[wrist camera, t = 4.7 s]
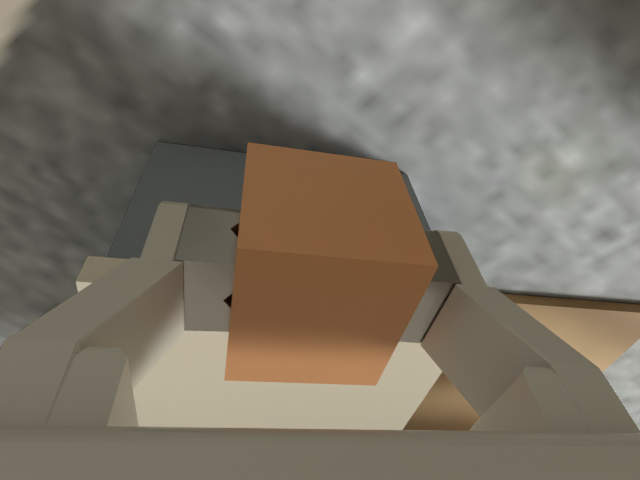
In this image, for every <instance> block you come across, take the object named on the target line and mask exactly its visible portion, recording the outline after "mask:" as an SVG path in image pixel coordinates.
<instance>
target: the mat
mask: <svg viewBox="0 0 640 480" xmlns="http://www.w3.org/2000/svg"><path fill="white" fill-rule="evenodd" d="M503 295H505V296H506V297H507V298H509V299H510V300H511V301H513V302H514V303H515V304H517V305H518V306H519V307H520V308H522V309H523V310H524V311H526V312H527V313H528V314H530V315H531V316H532V317H533V318H535V319H536V320H537V321H539V322H540V323H541V324H543V325H544V326H545V327H546V328H548V329H549V330H550V331H552V332H553V333H554V334H556V335H557V336H558V337H559V338H561V339H562V340H563V341H565V342H566V343H567V344H569V345H570V346H571V347H572V348H574V349H575V350H576V351H578V352H579V353H580V354H582V355H583V356H584V357H585V358H587V359H588V360H589V361H591V362H592V363H593V364H595V365H596V366H597V367H598V368H600V370H601V371H602V372H603V371H604V370H605V369H606V368H607V367H608V366H609V365H611V364H612V363H613V362H614V361H615V360H616V359H617V358H618V357H620V356H621V355H622V354H623V353H624V352H625V351H626V350H627V349H628V348H630V347H631V346H632V345H633V344H634V343H635V342H636V341H637V340H639V339H640V304H628V303H615V302H602V301H590V300H577V299H564V298H552V297H539V296H527V295H514V294H503ZM479 418H480V416H479V415H478V414H477V413H476V411H475V410H474V409H473V408H472V407H471V405H470V404H469V403H468V402H467V401H466V399H465V398H464V397H463V396H462V395H461V393H460V392H459V391H458V390H457V389H456V387H455V386H454V385H453V384H452V383H451V381H450V380H449V379H448V378H447V377H446V375H445V374H444V373H443V372H442V373H441V374H440V376H439V377H438V379H437V380H436V382H435V383H434V385H433V386H432V388H431V389H430V390H429V392H428V393H427V395H426V396H425V398H424V399H423V401H422V402H421V404H420V405H419V406H418V408H417V409H416V411H415V412H414V414H413V415H412V417H411V418H410V420H409V421H408V422H407V424H406V425H405V427H404V428H403V430H442V431H469V430H470V428H471V427H472V426H473V425H474V424H475V423H476V422H477V420H478V419H479Z"/></svg>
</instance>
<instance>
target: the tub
mask: <svg viewBox="0 0 640 480" xmlns="http://www.w3.org/2000/svg"><path fill="white" fill-rule="evenodd" d="M245 163H246V153H241V152H233V151H226V150H218V149H210V148H203V147H195V146H188V145H180V144H172V143H165V142H156V144H155V146H154V149H153V151H152V153H151V156H150V158H149V160H148V163H147V165H146V167H145V170H144V172H143V174H142V177H141V179H140V181H139V184H138V186H137V188H136V191H135V193H134V195H133V197H132V200H131V202H130V204H129V207H128V209H127V211H126V214H125V216H124V218H123V221H122V223H121V225H120V228H119V230H118V232H117V235H116V237H115V239H114V242H113V244H112V246H111V249H110V251H109V253H108V255H107V257H109V258H121V259H130V258H140V256H141V254H142V251H143V248H144V245H145V242H146V239H147V236H148V234H149V231H150V228H151V225H152V222H153V219H154V217H155V214H156V211H157V208H158V205H159V204H160V203H161V202H162V201H171V202H179V203H188V204H189V205H190V204H197V205H205V206H213V207H220V208H228V209H236V210H241V203H242V193H243V183H244V173H245ZM401 175H402V178H403V180H404V183H405V185H406V188H407V190H408V193H409V195H410V197H411V200H412V202H413V205H414V207H415V210H416V212H417V215H418V217H419V220H420V222H421V224H422V227H423V229H424V230H430V228H429V225H428V223H427V220H426V218H425V216H424V213H423V211H422V209H421V206H420V204H419V202H418V199H417V197H416V195H415V192H414V190H413V188H412V185H411V183H410V181H409V178H408V176H407V174H401ZM430 231H431V230H430Z"/></svg>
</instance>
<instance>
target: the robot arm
mask: <svg viewBox="0 0 640 480" xmlns="http://www.w3.org/2000/svg"><path fill="white" fill-rule="evenodd" d="M240 212H241V210H236V209H228V208H220V207H213V206H205V205H197V204H190V205H189V204H188V203H179V202H171V201H162V202H161V203H160V204H159V205H158V208H157V211H156V214H155V217H154V219H153V222H152V225H151V228H150V231H149V234H148V236H147V239H146V242H145V245H144V248H143V251H142V254H141V256H140V258H130V259H128V260H127V261H125V262H124V263H122V264H121V265H119V266H118V267H116V268H114V269H113V270H111V271H110V272H108V273H107V274H105V275H104V276H102V277H101V278H99V279H98V280H96V281H95V282H93V283H92V284H90V285H89V286H87V287H86V288H84V289H82V290H81V291H79V292H78V293H76V294H75V295H73V296H72V297H70V298H69V299H67V300H66V301H64V302H63V303H61V304H60V305H58V306H57V307H55V308H54V309H52V310H50V311H49V312H47V313H46V314H44V315H43V316H41V317H40V318H38V319H37V320H35V321H34V322H32V323H31V324H29V325H28V326H26V327H25V328H23V329H22V330H20V331H18V332H17V333H15V334H14V335H12V336H11V337H9V338H8V339H6V340H5V342H4V344H3V345H2V347H1V349H0V480H640V430H639V429H638V427H637V426H636V424H635V423H634V421H633V420H632V418H631V416H630V415H629V413H628V412H627V410H626V409H625V407H624V406H623V404H622V402H621V401H620V399H619V398H618V396H617V395H616V393H615V392H614V390H613V389H612V387H611V385H610V384H609V382H608V381H607V379H606V378H605V376H604V375H603V373H602V371H601V370H600V368H598V367H597V366H596V365H595V364H593V363H592V362H591V361H589V360H588V359H587V358H585V357H584V356H583V355H582V354H580V353H579V352H578V351H576V350H575V349H574V348H572V347H571V346H570V345H569V344H567V343H566V342H565V341H563V340H562V339H561V338H559V337H558V336H557V335H556V334H554V333H553V332H552V331H550V330H549V329H548V328H546V327H545V326H544V325H543V324H541V323H540V322H539V321H537V320H536V319H535V318H533V317H532V316H531V315H530V314H528V313H527V312H526V311H524V310H523V309H522V308H520V307H519V306H518V305H517V304H515V303H514V302H513V301H511V300H510V299H509V298H507V297H506V296H505V295H503V294H502V293H501V292H500V291H498V290H497V289H496V288H494V287H487V285H486V283H485V281H484V279H483V277H482V275H481V273H480V271H479V269H478V267H477V265H476V263H475V261H474V259H473V257H472V256H471V254H470V252H469V250H468V248H467V246H466V244H465V242H464V240H463V238H462V236H461V235H460V234H459V233H457V232H451V231H439V230H434V231H430V230H424V232H425V234H426V237H427V239H428V242H429V244H430V247H431V249H432V251H433V254H434V256H435V259H436V261H437V264H438V266H439V267H438V268H437V270H436V272H435V274H434V276H433V278H432V280H431V282H430V284H429V286H428V287H427V289H426V291H425V293H424V295H423V297H422V299H421V301H420V303H419V305H418V306H417V308H416V310H415V312H414V314H413V316H412V318H411V320H410V322H409V324H408V326H407V327H406V329H405V331H404V333H403V335H402V337H401V339H400V341H399V342H410V343H421V347H422V348H423V349H424V350H425V351H426V353H427V354H428V355H429V356H430V357H431V359H432V360H433V361H434V362H435V363H436V365H437V366H438V367H439V368H440V369H441V371H442V372H443V373H444V374H445V375H446V377H447V378H448V379H449V380H450V381H451V383H452V384H453V385H454V386H455V387H456V389H457V390H458V391H459V392H460V393H461V395H462V396H463V397H464V398H465V399H466V401H467V402H468V403H469V404H470V405H471V407H472V408H473V409H474V410H475V411H476V413H477V414H478V415H479V416H480V418H479V419H478V420H477V422H476V423H475V424H474V425H473V426H472V427H471V428H470V430H469V431H442V430H364V429H285V428H208V427H139V425H138V419H137V413H136V406H135V400H134V394H133V389H134V388H135V387H136V386H137V385H138V384H139V382H140V381H141V380H142V379H143V378H144V377H145V376H146V375H147V374H148V372H149V371H150V370H151V369H152V368H153V367H154V366H155V365H156V364H157V363H158V361H159V360H160V359H161V358H162V357H163V356H164V355H165V354H166V353H167V351H168V350H169V349H170V348H171V347H172V346H173V345H174V344H175V343H176V342H177V340H178V339H179V338H180V337H181V336H182V335H183V334H184V331H217V332H229V325H230V315H231V304H232V294H233V283H234V273H235V263H236V252H237V242H238V232H239V222H240Z"/></svg>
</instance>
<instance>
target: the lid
mask: <svg viewBox="0 0 640 480" xmlns="http://www.w3.org/2000/svg"><path fill="white" fill-rule="evenodd" d="M127 260H128V259H121V258H109V257H97V256H88V257H87V259H86V261H85V263H84V265H83V267H82V269H81V271H80V273H79V275H78V277H77V279H76V286H77V290H78V292H79V291H81V290H82V289H84V288H86V287H87V286H89V285H90V284H92V283H93V282H95V281H96V280H98V279H99V278H101V277H102V276H104V275H105V274H107V273H108V272H110V271H111V270H113V269H114V268H116V267H118V266H119V265H121V264H122V263H124V262H125V261H127ZM438 267H439V266H438V264H437V261H436V259H435V256H434V254H433V251H432V249H431V247H430V244H429V242H428V239H427V237H426V234H425V232H424V229H423V227H422V224H421V222H420V220H419V217H418V215H417V212H416V210H415V207H414V205H413V202H412V200H411V197H410V195H409V193H408V190H407V188H406V185H405V183H404V180H403V178H402V175H401V173H400V170H399V168H398V165H397V163H396V162H388V161H381V160H374V159H366V158H359V157H352V156H345V155H337V154H330V153H323V152H316V151H308V150H301V149H294V148H286V147H279V146H272V145H265V144H257V143H250V142H248V144H247V153H246V163H245V173H244V183H243V193H242V203H241V212H240V222H239V232H238V242H237V252H236V263H235V273H234V283H233V294H232V304H231V315H230V325H229V332H217V331H184V334H183V335H182V336H181V337H180V338H179V339H178V340H177V342H176V343H175V344H174V345H173V346H172V347H171V348H170V349H169V350H168V351H167V353H166V354H165V355H164V356H163V357H162V358H161V359H160V360H159V361H158V363H157V364H156V365H155V366H154V367H153V368H152V369H151V370H150V371H149V372H148V374H147V375H146V376H145V377H144V378H143V379H142V380H141V381H140V382H139V384H138V385H137V386H136V387H135V388H134V389H133V394H134V400H135V406H136V413H137V419H138V425H139V427H208V428H285V429H364V430H403V428H404V427H405V425H406V424H407V422H408V421H409V420H410V418H411V417H412V415H413V414H414V412H415V411H416V409H417V408H418V406H419V405H420V404H421V402H422V401H423V399H424V398H425V396H426V395H427V393H428V392H429V390H430V389H431V388H432V386H433V385H434V383H435V382H436V380H437V379H438V377H439V376H440V374H441V373H442V371H441V369H440V368H439V367H438V366H437V365H436V363H435V362H434V361H433V360H432V359H431V357H430V356H429V355H428V354H427V353H426V351H425V350H424V349H423V348H422V347H421V343H410V342H399V341H400V339H401V337H402V335H403V333H404V331H405V329H406V327H407V326H408V324H409V322H410V320H411V318H412V316H413V314H414V312H415V310H416V308H417V306H418V305H419V303H420V301H421V299H422V297H423V295H424V293H425V291H426V289H427V287H428V286H429V284H430V282H431V280H432V278H433V276H434V274H435V272H436V270H437V268H438Z"/></svg>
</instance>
